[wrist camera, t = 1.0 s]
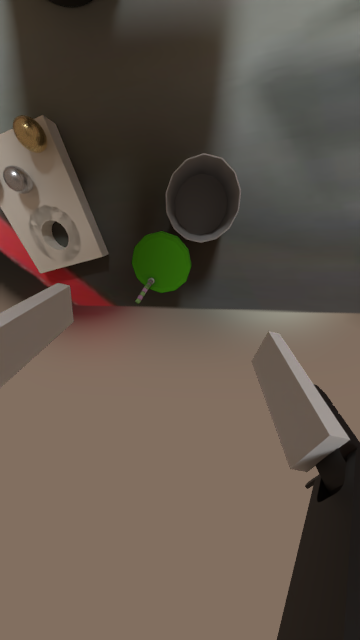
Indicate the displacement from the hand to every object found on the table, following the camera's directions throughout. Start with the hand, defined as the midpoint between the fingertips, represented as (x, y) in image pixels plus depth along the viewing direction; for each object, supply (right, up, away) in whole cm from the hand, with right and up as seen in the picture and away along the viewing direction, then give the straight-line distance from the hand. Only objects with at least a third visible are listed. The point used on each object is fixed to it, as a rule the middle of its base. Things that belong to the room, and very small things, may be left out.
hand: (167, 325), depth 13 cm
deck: (-21, +19, +19) cm, 34 cm away
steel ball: (-22, +20, +14) cm, 33 cm away
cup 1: (-1, +13, +21) cm, 24 cm away
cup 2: (+4, +18, +17) cm, 26 cm away
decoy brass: (-18, +24, +11) cm, 32 cm away
